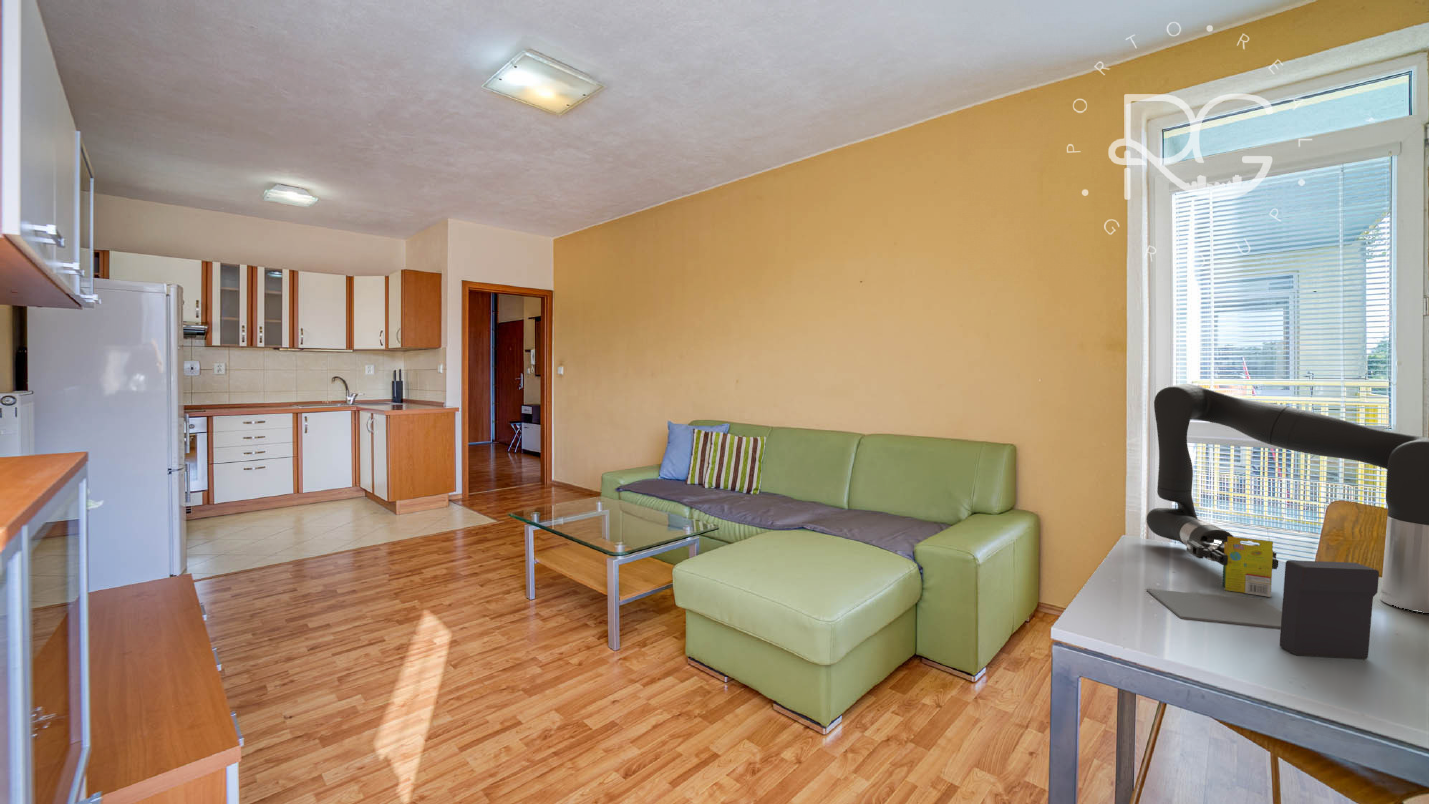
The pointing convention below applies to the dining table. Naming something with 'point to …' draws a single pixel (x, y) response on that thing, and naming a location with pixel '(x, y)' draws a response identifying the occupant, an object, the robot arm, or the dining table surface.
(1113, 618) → the dining table surface
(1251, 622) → the mat
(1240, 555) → the crayon box
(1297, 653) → the black square block
